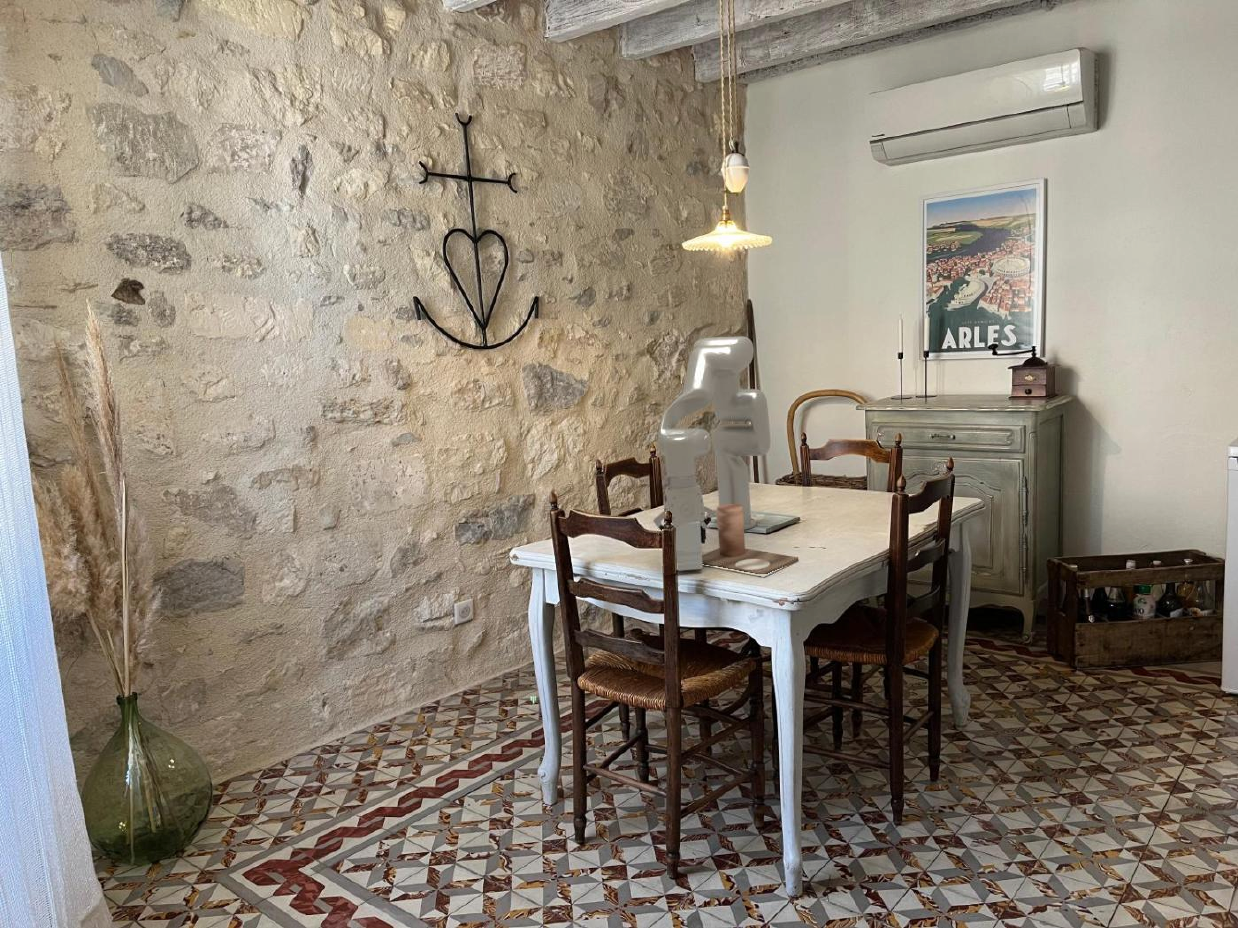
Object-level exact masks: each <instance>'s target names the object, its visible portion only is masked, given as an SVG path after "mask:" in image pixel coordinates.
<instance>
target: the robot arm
mask: <svg viewBox="0 0 1238 928" xmlns="http://www.w3.org/2000/svg"><path fill="white" fill-rule="evenodd" d="M692 349H693V350H692V351H691V353H690V354H689V359H688V363H687V369H686V375H685V379H684V384H683V385H684V386H683V389H682V393H681V394H680V395H679V396H678V397H677V398H676V399H674V400H673V402H671V403H670V405H669V406H667V409H665V411H664V412H663V414H662V416H661V419H660V424H659V428H658V433H657V439H656V441H657V442H656V443H657V444H656V445H657V449H658V452H659V453H660V454H661V455H662V456H664V457H665V458H664V459H665V471H666V476H665V478H664V479H662V480H661V483H662V484H661V485H663V486H666V487H665V489H664V497H663V511H661V513H659V515H657V516H656V517H655V518H654V519H653V523H654V524H655V526H656V527H657V529H659V530H660V531H661V532H663V531H662V529H663V528H664V527H665V526H664V525H663V524H662V521H664V520H665V512H666V511H670V512H671V513H672V524H673V526H674V527H676V526H680V525H681V524H686V523H691V522H698V521H699V522H700V529H701V545H702V544H703V545H705V544H706V540H707V535H706V534H707V533H706V532H707V531H706V529H707V528H708V525H709V524H710V522H711V521H712V518H716V520H717V521H716V520H715V523H714V525H715V528H716V529H718V517H717V509H711V508H709V507H707V506H705V504H704V498H703V493H702V490H701V487H700V484H699V483H697V479H696V478H697V477H696V464H695V461H696V460H695V459H697V458H699V457H700V458H701V457H704V456H705V455H706V454H708V453H709V451H710V449H711V448H712V447H713V452H714V457H715V463H716V475H717V491H718V496H717V497H718V506H720V505H725V504H739V505H742V506H743V521H744V531H745V530H750V529H753V528H755V527H756V525H757V520H756V519H755V518H753V517H752V516H751V515H752V513H751V494H750V479H749V476H750V475H749V467H748V466H747V465H748V464H747V463H746V462H745V460H744V459H743V458H742V456H743V457H752V456H753V457H759V456H760V457H761V456H764V455H767V454H768V452H769V451H770V448H771V429H770V420H769V419H770V418H769V417H770V416H769V407H768V401H767V397H766V395H765V393H764V392H763V391H761V390H760V389H756V388H742V387H741V381H740V373H742V372H743V371H745V369H746V368H747V367H749V365H750V364H751V363H752V360H753V358H754V351H755V350H754V345H753V342H752V340H751V339H750V338H748V336H741V335H740V336H717V337H706V338H701V339H698V340H697V341H695V342H694V344H693V348H692ZM711 403H712V406H713V412H714V416H715V417H716V419H717V420H719V421H722V422H749V424H747V423H746V424H745V423H739V424H738V423H732V424H731V423H730V424H729V423H728V424H722V425H718V426H717V427H715V428H714V430H713V431H712V434H711V435H710V433H709V432H708V431H707V430H706V429H703V428H675V427H676V425H677V424H678V423H679V422H680V421H681V420H682V419H683V418H685V417H686V416H688V415H690V414H692V413H694V412H697V411H699V410H702V409H704V408H705V407H707V406H709V405H710V404H711Z"/></svg>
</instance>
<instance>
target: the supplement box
mask: <svg viewBox="0 0 1238 928" xmlns="http://www.w3.org/2000/svg"><path fill="white" fill-rule="evenodd" d="M675 528H676V551H677V563H678V570H679V571H681V572H682V571H691V570H700V569H704V566H703V563H702V555H703V551H702V549H703V547H702V543H701V529H700V522H699V521H698V522H691V523H686V524H681V525H680V526H676V527H675ZM679 571H678V572H679Z"/></svg>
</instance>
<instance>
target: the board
mask: <svg viewBox="0 0 1238 928" xmlns="http://www.w3.org/2000/svg"><path fill="white" fill-rule="evenodd" d="M716 510H717V517H718V528H717V531H718V533H717V534H718V548H715V549H714V550H712V551H709V552H707V553H705V554H702V563H703V564H704V565H709V566H718V567H723V568H728V569H734V570H739V571H744V572H750V573H755V574H768V573H770V572H772V571H775V570H777V569H780V568H782V567H785V566H787V567H789V566H791V565H793V564H795V563H798V562H799V557H798V556H794V555H793V556H791V555H785V554H779V553H774V552H768V551H762V550H757V549H756V550H755V549H751V548H746V546H745V545H746V544H745V543H746V542H745V530H744V521H743V506H742V505H739V504H725V505H720V506H719V505H718V506H717V507H716ZM717 517H716V518H717ZM785 568H786V567H785Z"/></svg>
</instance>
